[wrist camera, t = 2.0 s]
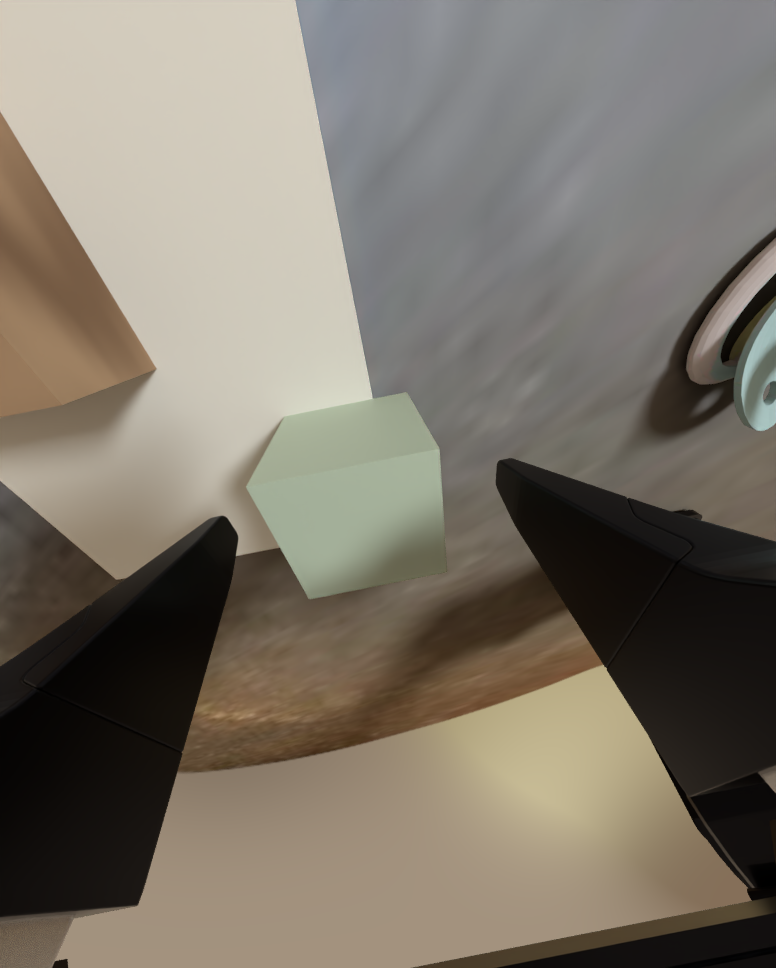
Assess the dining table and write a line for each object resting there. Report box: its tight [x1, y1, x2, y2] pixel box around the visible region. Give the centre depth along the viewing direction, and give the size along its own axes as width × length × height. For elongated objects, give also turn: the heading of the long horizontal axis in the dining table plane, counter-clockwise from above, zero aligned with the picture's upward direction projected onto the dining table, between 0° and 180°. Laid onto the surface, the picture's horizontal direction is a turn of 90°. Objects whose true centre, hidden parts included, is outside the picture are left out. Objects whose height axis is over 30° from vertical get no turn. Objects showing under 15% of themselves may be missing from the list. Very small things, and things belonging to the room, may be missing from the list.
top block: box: [246, 392, 447, 599], centre depth 9 cm, size 4×4×4 cm
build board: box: [0, 0, 373, 580], centre depth 9 cm, size 18×14×1 cm
